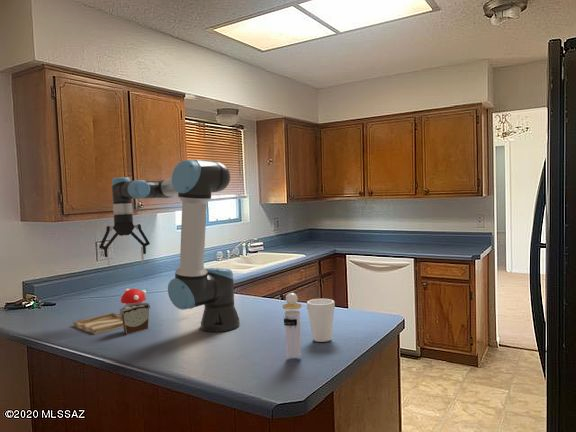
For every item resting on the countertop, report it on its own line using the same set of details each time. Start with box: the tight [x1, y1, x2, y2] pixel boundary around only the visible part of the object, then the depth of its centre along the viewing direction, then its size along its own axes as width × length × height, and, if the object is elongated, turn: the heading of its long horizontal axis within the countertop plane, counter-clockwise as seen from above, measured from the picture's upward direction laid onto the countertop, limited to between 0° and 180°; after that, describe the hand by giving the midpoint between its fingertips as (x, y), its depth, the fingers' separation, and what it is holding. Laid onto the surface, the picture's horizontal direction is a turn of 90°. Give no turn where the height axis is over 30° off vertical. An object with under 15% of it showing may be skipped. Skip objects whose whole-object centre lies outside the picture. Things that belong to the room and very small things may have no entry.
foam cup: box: [306, 298, 336, 343], centre depth 155 cm, size 10×9×13 cm
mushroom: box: [120, 288, 147, 306], centre depth 200 cm, size 11×11×12 cm
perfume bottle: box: [282, 292, 302, 358], centre depth 138 cm, size 6×6×20 cm
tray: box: [72, 312, 124, 335], centre depth 185 cm, size 20×17×2 cm
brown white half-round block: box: [119, 302, 151, 336], centre depth 175 cm, size 12×6×10 cm, turn 141°
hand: (126, 263), depth 192 cm, fingers open, 13 cm apart
